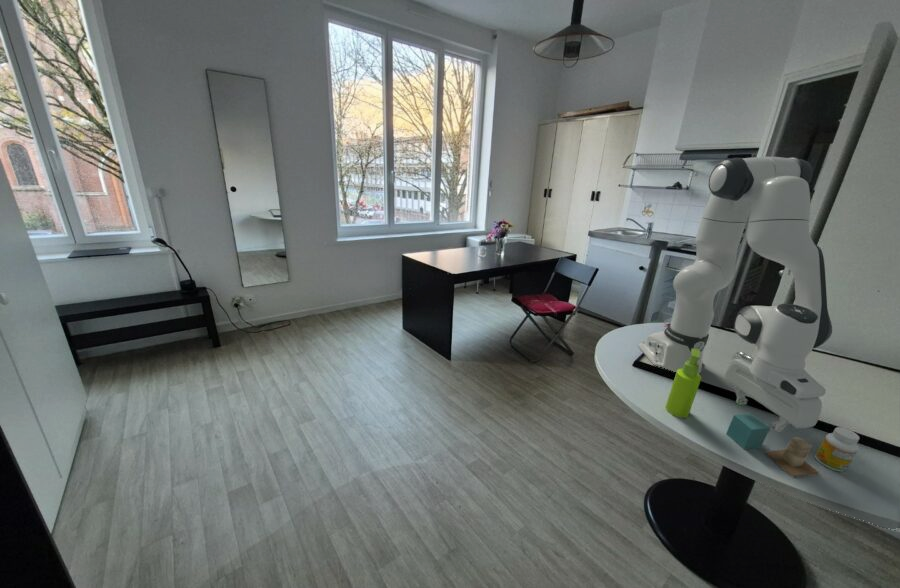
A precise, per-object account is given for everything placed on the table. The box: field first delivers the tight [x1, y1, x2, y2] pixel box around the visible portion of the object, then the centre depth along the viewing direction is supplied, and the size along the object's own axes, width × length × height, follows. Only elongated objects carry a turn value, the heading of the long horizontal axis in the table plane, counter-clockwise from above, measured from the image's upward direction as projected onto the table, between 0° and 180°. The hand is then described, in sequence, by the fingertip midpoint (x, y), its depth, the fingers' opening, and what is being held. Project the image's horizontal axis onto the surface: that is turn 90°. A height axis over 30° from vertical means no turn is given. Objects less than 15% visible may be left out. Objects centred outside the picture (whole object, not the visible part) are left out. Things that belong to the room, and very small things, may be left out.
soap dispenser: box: [665, 348, 702, 419], centre depth 98 cm, size 6×7×20 cm
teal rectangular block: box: [725, 413, 771, 450], centre depth 90 cm, size 5×5×7 cm
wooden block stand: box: [764, 437, 820, 478], centre depth 83 cm, size 7×7×7 cm
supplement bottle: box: [814, 426, 860, 472], centre depth 83 cm, size 5×5×10 cm
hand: (757, 416), depth 87 cm, fingers open, 8 cm apart
